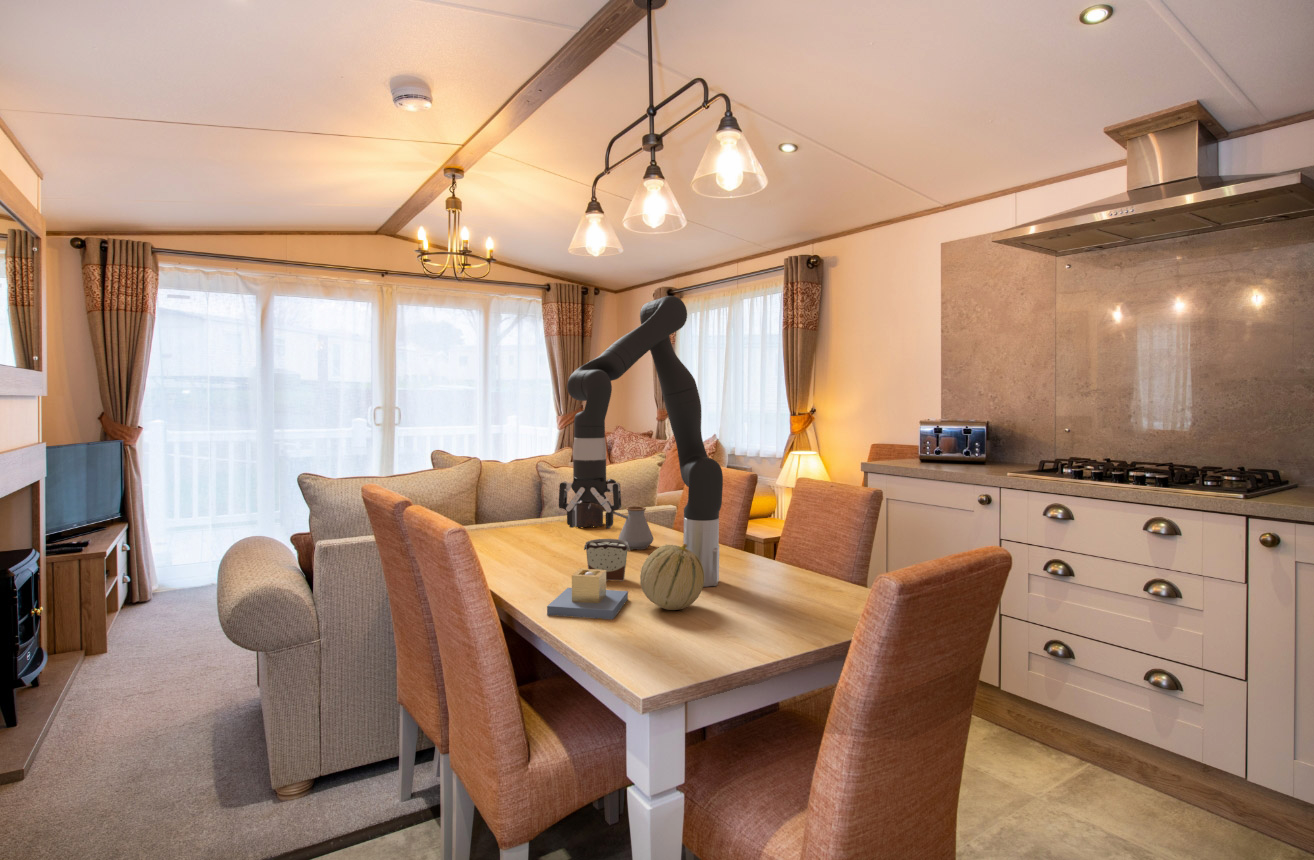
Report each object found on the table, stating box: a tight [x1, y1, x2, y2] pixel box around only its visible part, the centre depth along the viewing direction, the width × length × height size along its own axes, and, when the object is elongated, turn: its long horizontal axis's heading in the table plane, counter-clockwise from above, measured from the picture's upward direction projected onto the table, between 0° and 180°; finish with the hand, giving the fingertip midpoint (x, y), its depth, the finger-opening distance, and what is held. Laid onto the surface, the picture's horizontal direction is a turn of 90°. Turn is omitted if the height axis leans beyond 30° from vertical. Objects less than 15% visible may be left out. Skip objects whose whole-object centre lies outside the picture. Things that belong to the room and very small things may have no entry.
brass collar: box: [571, 568, 607, 603], centre depth 154 cm, size 6×6×6 cm
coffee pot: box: [588, 503, 654, 550], centre depth 216 cm, size 21×12×15 cm, turn 102°
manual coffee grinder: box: [574, 478, 617, 528], centre depth 255 cm, size 16×11×18 cm
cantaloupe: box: [639, 543, 704, 611], centre depth 154 cm, size 15×15×15 cm
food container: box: [583, 538, 631, 582], centre depth 180 cm, size 12×6×10 cm, turn 84°
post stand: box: [546, 572, 629, 620], centre depth 154 cm, size 15×15×8 cm
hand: (590, 527), depth 153 cm, fingers open, 8 cm apart
